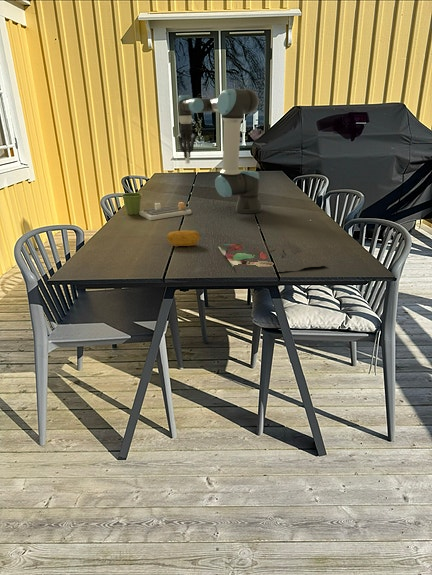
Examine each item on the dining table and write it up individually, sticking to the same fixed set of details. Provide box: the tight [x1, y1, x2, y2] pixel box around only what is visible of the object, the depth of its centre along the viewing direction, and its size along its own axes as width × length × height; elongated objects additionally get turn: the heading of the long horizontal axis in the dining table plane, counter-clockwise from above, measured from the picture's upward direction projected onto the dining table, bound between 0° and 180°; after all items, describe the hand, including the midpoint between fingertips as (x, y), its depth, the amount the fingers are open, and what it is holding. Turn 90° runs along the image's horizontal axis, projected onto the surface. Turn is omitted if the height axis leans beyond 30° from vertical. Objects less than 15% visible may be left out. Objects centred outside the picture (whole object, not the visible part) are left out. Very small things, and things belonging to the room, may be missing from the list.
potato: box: [166, 229, 200, 247], centre depth 177 cm, size 7×14×7 cm, turn 89°
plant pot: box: [120, 192, 143, 216], centre depth 233 cm, size 12×12×11 cm
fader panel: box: [138, 202, 192, 221], centre depth 231 cm, size 16×26×6 cm, turn 121°
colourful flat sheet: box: [217, 243, 274, 267], centre depth 162 cm, size 35×35×2 cm
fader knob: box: [177, 201, 186, 210], centre depth 232 cm, size 3×2×4 cm
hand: (187, 163), depth 253 cm, fingers closed
